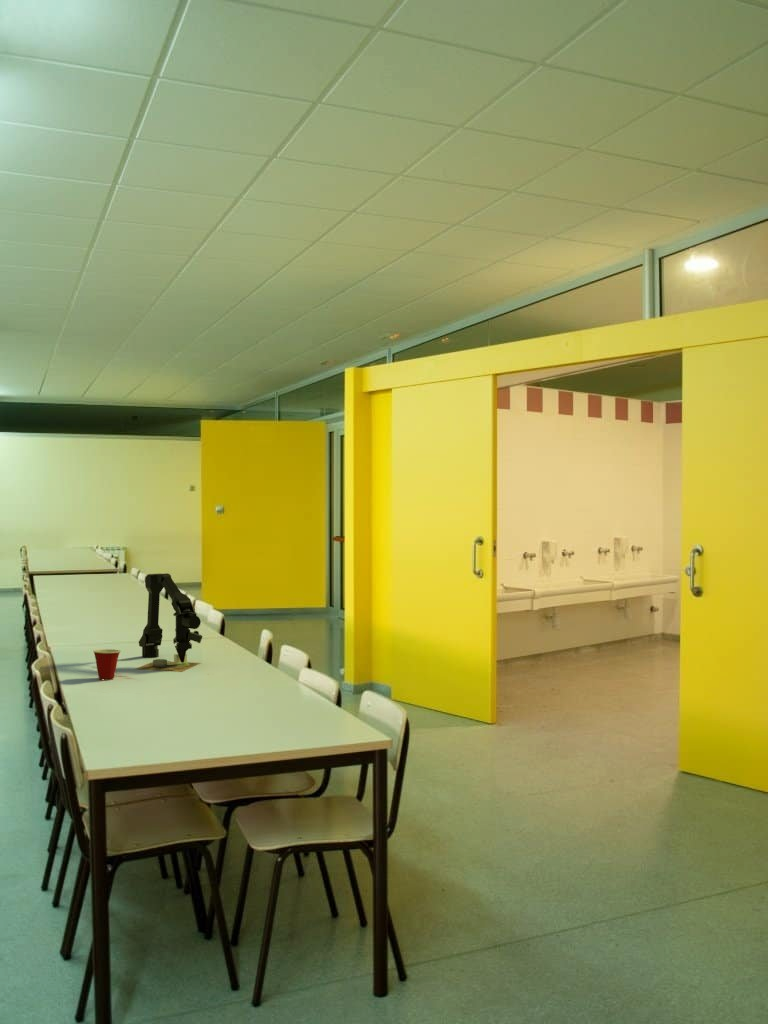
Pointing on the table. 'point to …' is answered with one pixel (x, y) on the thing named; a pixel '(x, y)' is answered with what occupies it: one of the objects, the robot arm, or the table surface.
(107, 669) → the plastic cup
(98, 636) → the table surface
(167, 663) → the peg lever
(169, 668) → the brown flat wooden board
